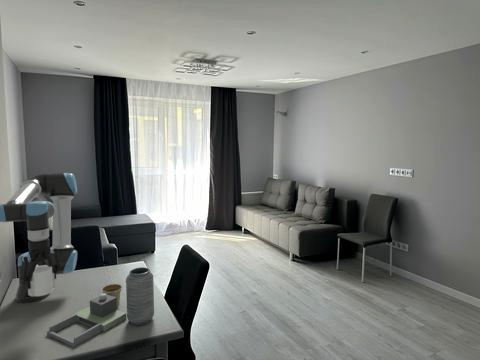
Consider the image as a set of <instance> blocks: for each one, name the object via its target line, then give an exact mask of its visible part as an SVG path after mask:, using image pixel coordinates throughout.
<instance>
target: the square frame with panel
mask: <svg viewBox="0 0 480 360" xmlns="http://www.w3.org/2000/svg"><path fill="white" fill-rule="evenodd" d="M126 319H127V312H123V311H121V310H118V306H117V299H116V297H113V296H110V295H107V294H105V293H103V292H102V293H100V294H99V296H97V297H95V298H93V299H91V300H89V306H88V307H86V308H84V309H81V310H79V311H77V312H75V313H73V315H71V316H69V317H66V318H65V319H63V320H61V321H58V322H56V323H54V324H51V325H50V326H49V328H48V330H47V331H46V335H47V336H49V337H51V338H53V339H55V340H58V341H60V342H62V343H64V344H66V345H69V346H71V347H76V346H78V345H79V344H81V343H83V342H84V341H86V340H88V339H89V338H92V337H93V336H95V335H96V334H98V333H100V332H101V331H102V332H105V331H107V330H109V329H111V328H113V327H114V326H116V325H118V324H119V323H121V322H123V321H124V320H126ZM76 322H80V323H82V324H85V325H87V326H90V328H88V329H87V330H84V331H83V332H81V333H80V334H78V335H76V336H74V337H73V339H70V338H69V337H68V338H67V337H66V336H63V335H61V334H59V333H58V332H59V331H61V330H62V329H64V328H66V327H68V326H70V325H72V324H74V323H76ZM56 332H57V333H56Z"/></svg>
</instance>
